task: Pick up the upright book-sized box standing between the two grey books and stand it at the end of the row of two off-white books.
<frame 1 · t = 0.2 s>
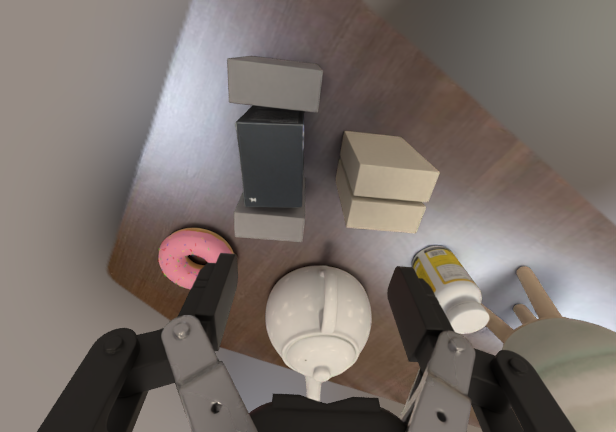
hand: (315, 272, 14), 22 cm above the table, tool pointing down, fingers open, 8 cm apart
planter: (501, 291, 47), on the table
teapot: (317, 294, 47), on the table
grey books: (280, 136, 32), on the table
doughnut: (202, 251, 42), on the table
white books: (366, 159, 34), on the table
box: (280, 136, 32), on the table
pill bottle: (430, 258, 43), on the table
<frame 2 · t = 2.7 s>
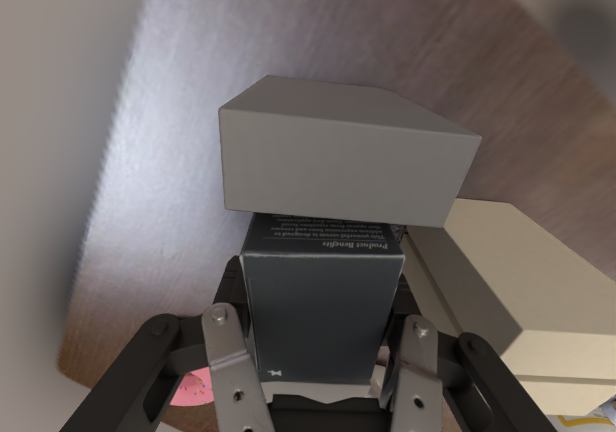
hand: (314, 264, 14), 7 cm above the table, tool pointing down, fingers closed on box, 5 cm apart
teapot: (349, 390, 34), on the table
grey books: (311, 203, 20), on the table
doughnut: (191, 345, 29), on the table
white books: (447, 234, 21), on the table
box: (311, 201, 20), on the table, touching gripper
pill bottle: (514, 352, 30), on the table
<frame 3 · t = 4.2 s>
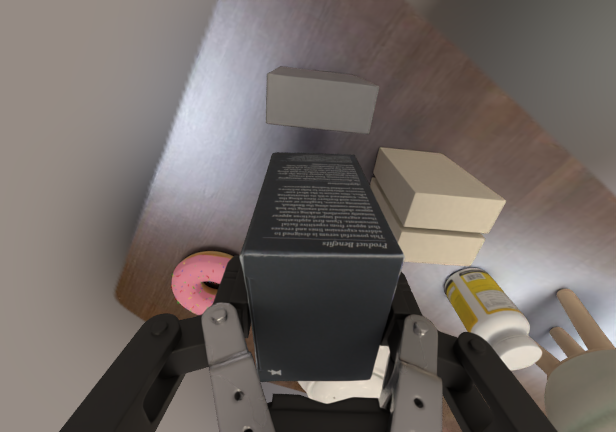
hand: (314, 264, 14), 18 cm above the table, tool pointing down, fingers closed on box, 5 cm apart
planter: (537, 313, 44), on the table
teapot: (340, 318, 44), on the table
grey books: (308, 153, 29), on the table
doughnut: (218, 274, 38), on the table
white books: (402, 177, 31), on the table
box: (311, 201, 20), point 11 cm above the table, touching gripper
pill bottle: (464, 281, 40), on the table
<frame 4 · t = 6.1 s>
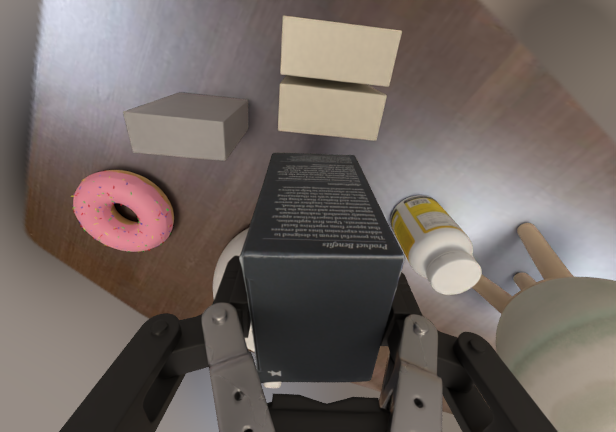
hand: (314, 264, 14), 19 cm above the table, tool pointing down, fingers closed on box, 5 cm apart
planter: (499, 256, 40), on the table
teapot: (281, 261, 40), on the table
grey books: (209, 37, 25), on the table
doughnut: (136, 204, 34), on the table
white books: (324, 72, 26), on the table
box: (311, 202, 20), point 13 cm above the table, touching gripper
pill bottle: (413, 213, 36), on the table
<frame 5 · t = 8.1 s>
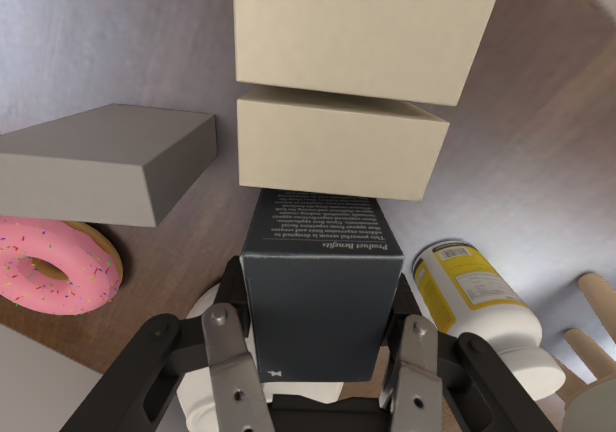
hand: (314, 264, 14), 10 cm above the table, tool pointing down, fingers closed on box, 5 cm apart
planter: (548, 310, 31), on the table
teapot: (269, 316, 31), on the table
grey books: (149, 21, 16), on the table
doughnut: (72, 250, 26), on the table
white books: (325, 75, 18), on the table
box: (311, 202, 20), point 3 cm above the table, touching gripper
pill bottle: (442, 261, 27), on the table
when the fingers open (7 cm above the table, at t = 9.5 s): box stays where it is, on the table.
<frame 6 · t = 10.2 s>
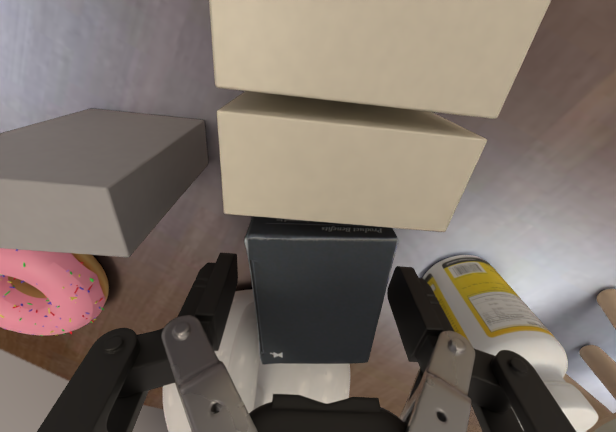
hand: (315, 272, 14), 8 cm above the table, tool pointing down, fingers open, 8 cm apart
planter: (563, 326, 29), on the table
teapot: (267, 332, 29), on the table
grey books: (129, 16, 14), on the table
doughnut: (54, 264, 24), on the table
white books: (327, 76, 16), on the table
box: (311, 196, 20), on the table
pill bottle: (452, 276, 25), on the table
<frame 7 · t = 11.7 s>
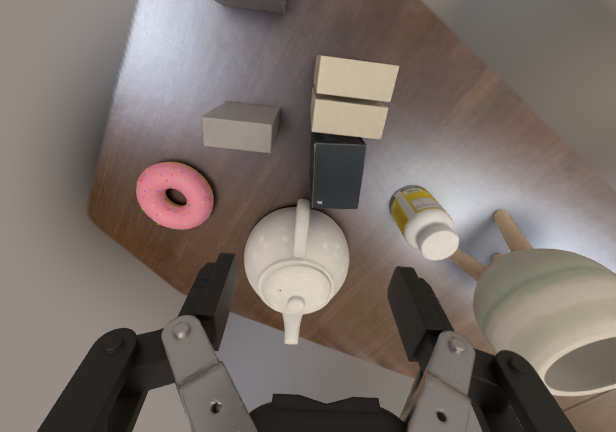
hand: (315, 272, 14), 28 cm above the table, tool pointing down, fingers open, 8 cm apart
planter: (479, 239, 47), on the table
teapot: (298, 242, 47), on the table
grey books: (253, 60, 33), on the table
doughnut: (182, 190, 42), on the table
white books: (339, 87, 34), on the table
box: (329, 149, 39), on the table
pill bottle: (408, 201, 43), on the table
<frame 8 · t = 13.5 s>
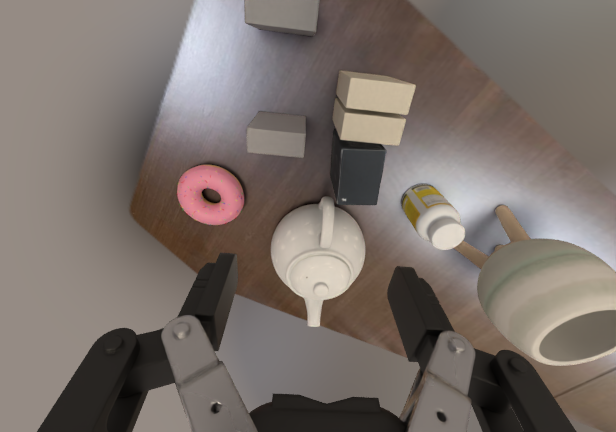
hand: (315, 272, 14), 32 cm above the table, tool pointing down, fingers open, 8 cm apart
planter: (482, 232, 52), on the table
teapot: (317, 235, 52), on the table
grey books: (284, 76, 37), on the table
doughnut: (215, 190, 47), on the table
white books: (359, 98, 39), on the table
box: (348, 152, 43), on the table
pill bottle: (418, 198, 48), on the table
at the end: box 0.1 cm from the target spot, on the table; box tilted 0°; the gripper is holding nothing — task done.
